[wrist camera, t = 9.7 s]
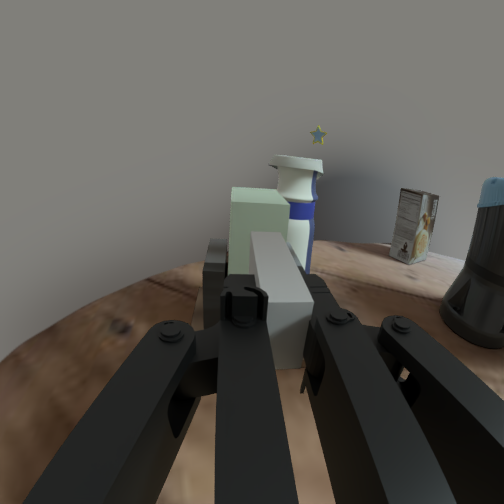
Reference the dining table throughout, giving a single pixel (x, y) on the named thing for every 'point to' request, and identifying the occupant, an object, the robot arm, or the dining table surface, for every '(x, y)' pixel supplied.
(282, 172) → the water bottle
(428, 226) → the food box
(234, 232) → the sage block
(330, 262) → the dining table surface
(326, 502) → the dining table surface
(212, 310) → the band guide
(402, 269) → the dining table surface
